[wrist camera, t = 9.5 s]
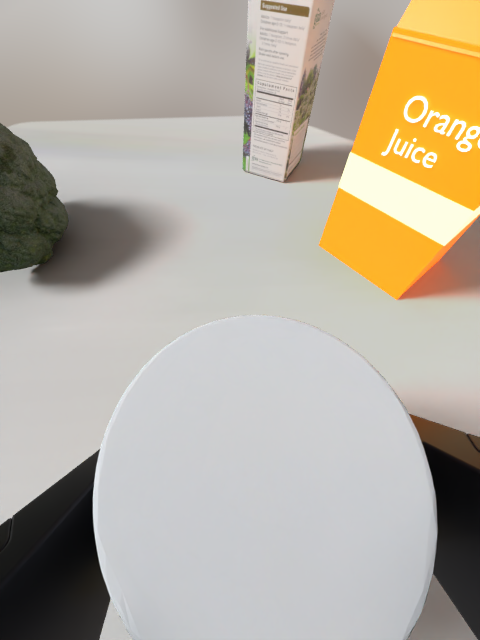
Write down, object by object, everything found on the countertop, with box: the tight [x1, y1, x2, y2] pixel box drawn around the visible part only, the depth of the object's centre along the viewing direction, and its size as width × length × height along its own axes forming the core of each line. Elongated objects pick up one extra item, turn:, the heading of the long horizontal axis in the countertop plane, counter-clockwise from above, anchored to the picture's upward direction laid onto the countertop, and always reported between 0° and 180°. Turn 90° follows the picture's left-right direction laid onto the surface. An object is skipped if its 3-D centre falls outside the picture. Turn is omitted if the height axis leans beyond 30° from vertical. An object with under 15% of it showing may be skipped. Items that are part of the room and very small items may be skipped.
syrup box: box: [243, 0, 334, 182], centre depth 27 cm, size 6×6×14 cm
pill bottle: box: [93, 315, 438, 640], centre depth 9 cm, size 6×6×12 cm
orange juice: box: [319, 0, 480, 300], centre depth 17 cm, size 8×9×20 cm
